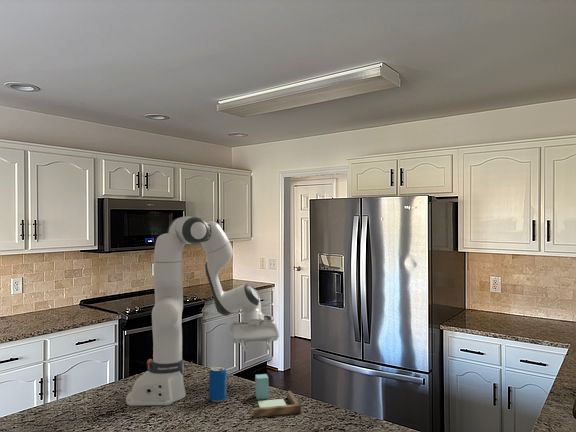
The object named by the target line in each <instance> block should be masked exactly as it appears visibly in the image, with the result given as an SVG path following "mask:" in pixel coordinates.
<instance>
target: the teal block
mask: <svg viewBox="0 0 576 432" xmlns="http://www.w3.org/2000/svg"><path fill="white" fill-rule="evenodd" d="M269 379H270V378H269V376H268V374H267V373H263V374H262V373H261V374H255V377H254V385H255V387H254V395H255V397H256V400H269V398H270V397H269V396H270V395H269V393H270V391H269V387H270V386H269V384H270V383H269Z"/></svg>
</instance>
